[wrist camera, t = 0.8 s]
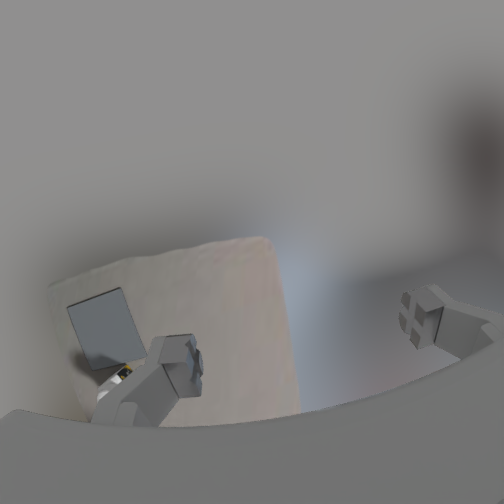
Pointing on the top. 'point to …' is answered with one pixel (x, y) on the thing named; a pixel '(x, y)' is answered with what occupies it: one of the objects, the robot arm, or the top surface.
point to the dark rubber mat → (106, 330)
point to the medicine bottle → (113, 381)
